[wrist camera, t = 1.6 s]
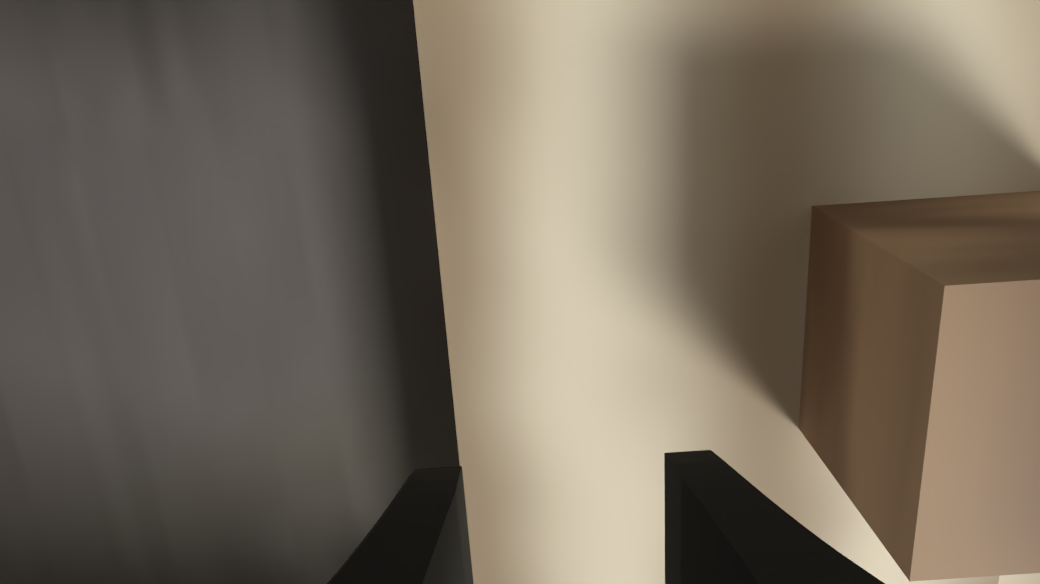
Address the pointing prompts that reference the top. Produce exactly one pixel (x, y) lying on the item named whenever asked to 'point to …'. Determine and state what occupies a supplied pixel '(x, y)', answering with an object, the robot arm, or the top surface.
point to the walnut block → (930, 376)
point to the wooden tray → (679, 240)
